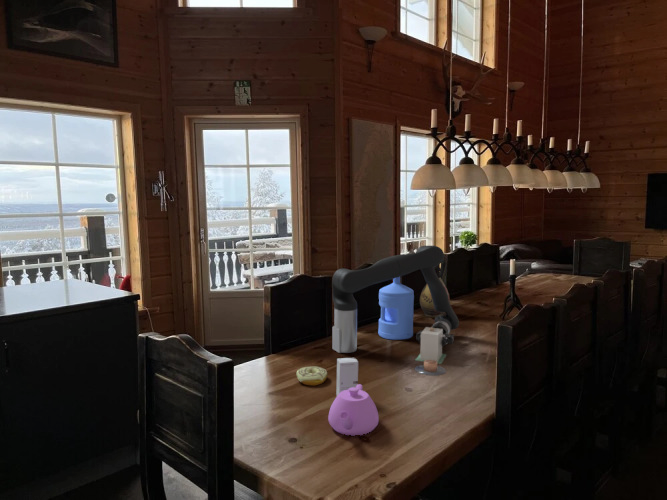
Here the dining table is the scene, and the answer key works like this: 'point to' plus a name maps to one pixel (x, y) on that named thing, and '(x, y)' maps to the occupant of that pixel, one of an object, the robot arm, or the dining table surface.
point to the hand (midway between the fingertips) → (431, 342)
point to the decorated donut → (311, 375)
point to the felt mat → (438, 360)
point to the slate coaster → (439, 372)
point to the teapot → (353, 412)
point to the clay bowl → (430, 365)
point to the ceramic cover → (431, 344)
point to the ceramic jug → (426, 295)
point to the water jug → (396, 311)
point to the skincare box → (346, 374)
